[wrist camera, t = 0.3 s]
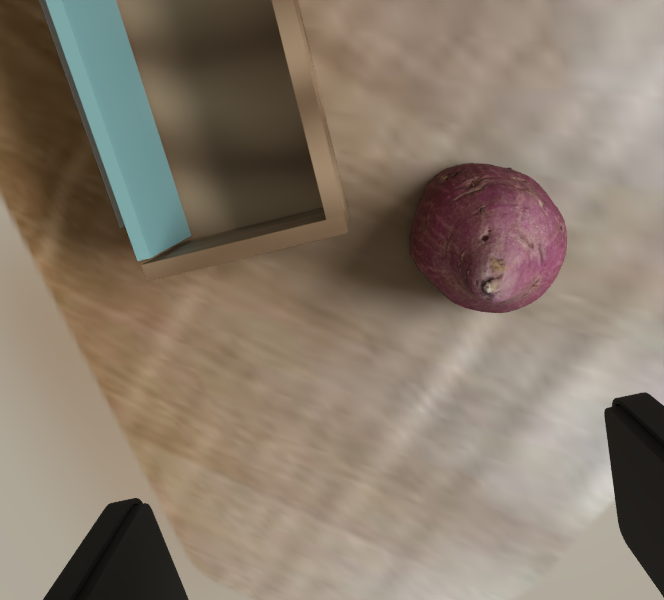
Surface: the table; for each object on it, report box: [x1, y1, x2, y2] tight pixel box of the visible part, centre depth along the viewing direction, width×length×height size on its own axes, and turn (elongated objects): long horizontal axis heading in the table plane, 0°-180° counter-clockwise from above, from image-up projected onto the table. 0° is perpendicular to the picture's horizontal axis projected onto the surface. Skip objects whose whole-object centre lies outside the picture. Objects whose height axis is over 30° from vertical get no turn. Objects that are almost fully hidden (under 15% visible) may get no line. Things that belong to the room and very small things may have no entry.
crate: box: [116, 0, 348, 281], centre depth 31 cm, size 27×12×10 cm, turn 14°
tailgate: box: [39, 0, 191, 261], centre depth 31 cm, size 24×1×8 cm, turn 14°
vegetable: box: [410, 163, 567, 313], centre depth 33 cm, size 10×10×15 cm
